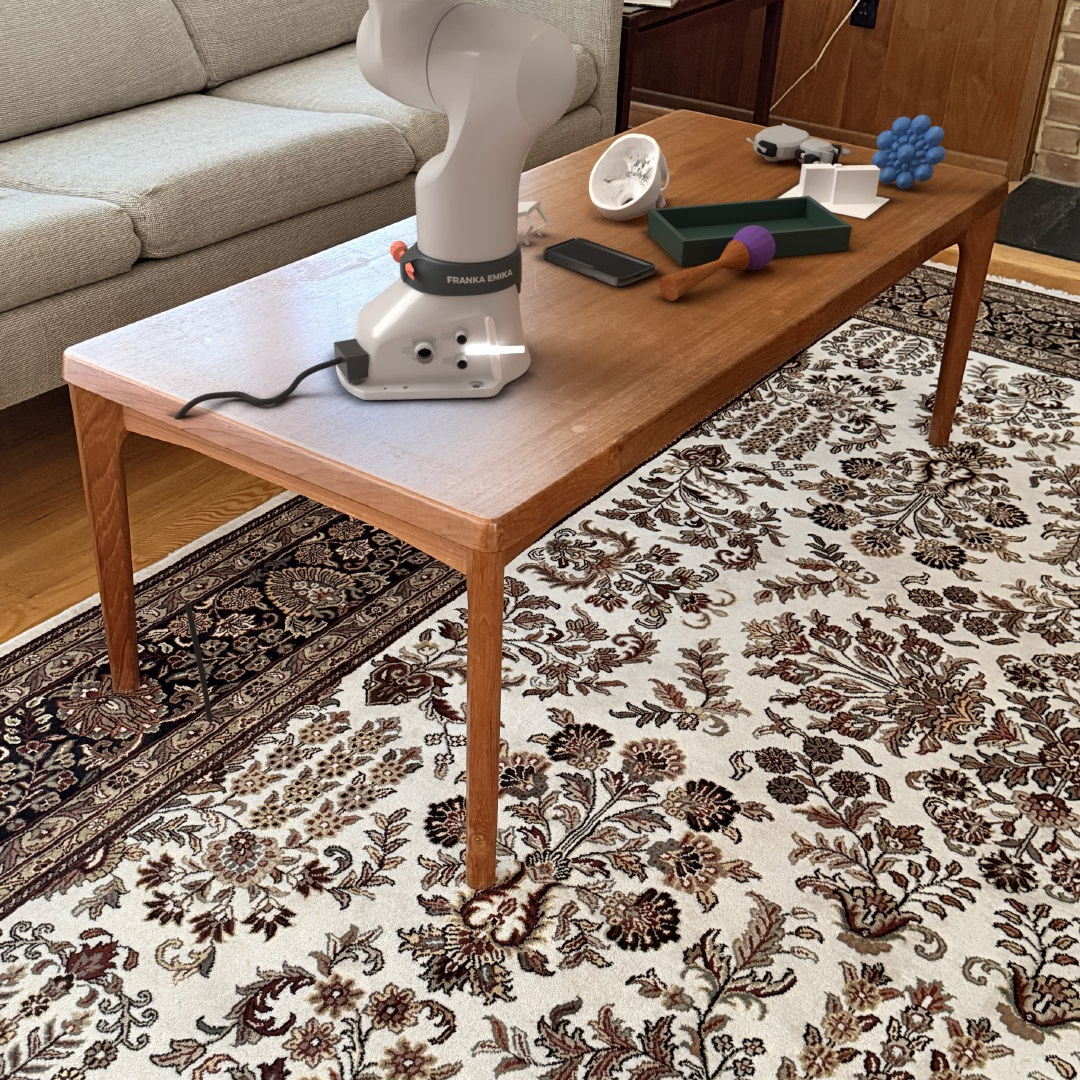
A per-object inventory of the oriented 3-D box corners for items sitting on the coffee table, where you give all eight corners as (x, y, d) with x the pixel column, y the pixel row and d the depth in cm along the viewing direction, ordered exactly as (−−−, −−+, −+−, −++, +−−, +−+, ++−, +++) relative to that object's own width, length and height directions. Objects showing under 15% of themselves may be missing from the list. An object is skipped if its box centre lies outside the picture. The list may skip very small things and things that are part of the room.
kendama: (649, 263, 159) (748, 218, 169) (654, 307, 162) (751, 260, 172) (683, 268, 155) (782, 221, 165) (688, 313, 157) (785, 264, 168)
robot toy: (851, 168, 210) (776, 144, 217) (857, 141, 207) (781, 118, 214) (816, 185, 202) (739, 159, 209) (822, 157, 199) (744, 133, 206)
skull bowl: (692, 192, 191) (677, 134, 180) (650, 261, 187) (632, 206, 176) (634, 178, 195) (616, 122, 185) (592, 245, 192) (571, 191, 181)
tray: (681, 266, 169) (683, 241, 167) (647, 232, 180) (648, 208, 178) (848, 250, 175) (852, 226, 173) (805, 219, 186) (809, 195, 184)
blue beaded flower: (946, 189, 199) (962, 114, 192) (930, 200, 194) (946, 123, 187) (878, 175, 204) (891, 101, 198) (862, 185, 200) (874, 110, 193)
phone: (578, 236, 175) (658, 265, 166) (577, 244, 175) (658, 272, 166) (539, 249, 170) (619, 280, 161) (538, 257, 170) (619, 288, 162)
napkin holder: (890, 198, 194) (896, 162, 191) (865, 219, 186) (872, 181, 183) (801, 181, 201) (806, 146, 198) (774, 200, 193) (778, 164, 190)
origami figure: (504, 224, 182) (504, 191, 179) (552, 235, 178) (552, 202, 175) (457, 248, 173) (456, 214, 171) (507, 261, 170) (507, 226, 167)
